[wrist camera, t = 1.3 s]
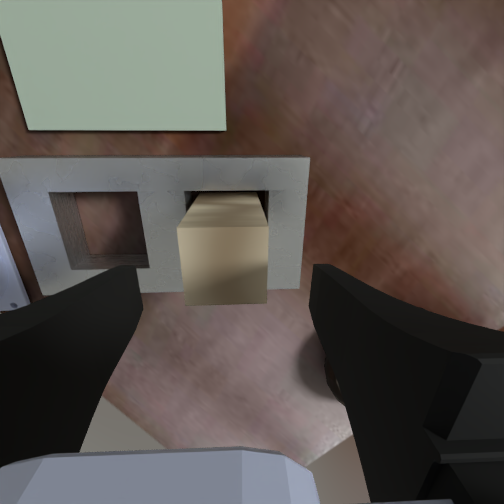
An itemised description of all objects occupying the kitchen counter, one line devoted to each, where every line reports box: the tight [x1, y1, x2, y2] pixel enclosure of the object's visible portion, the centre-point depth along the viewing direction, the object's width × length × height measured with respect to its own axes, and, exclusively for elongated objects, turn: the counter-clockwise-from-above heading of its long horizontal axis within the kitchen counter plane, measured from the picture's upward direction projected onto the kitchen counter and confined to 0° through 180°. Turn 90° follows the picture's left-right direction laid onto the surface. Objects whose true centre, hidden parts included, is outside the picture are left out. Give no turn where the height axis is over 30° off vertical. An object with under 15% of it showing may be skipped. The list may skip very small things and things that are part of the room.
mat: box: [0, 0, 226, 131], centre depth 14 cm, size 12×12×1 cm
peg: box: [177, 192, 269, 306], centre depth 16 cm, size 4×4×8 cm
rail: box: [0, 155, 310, 295], centre depth 18 cm, size 18×9×2 cm, turn 90°
